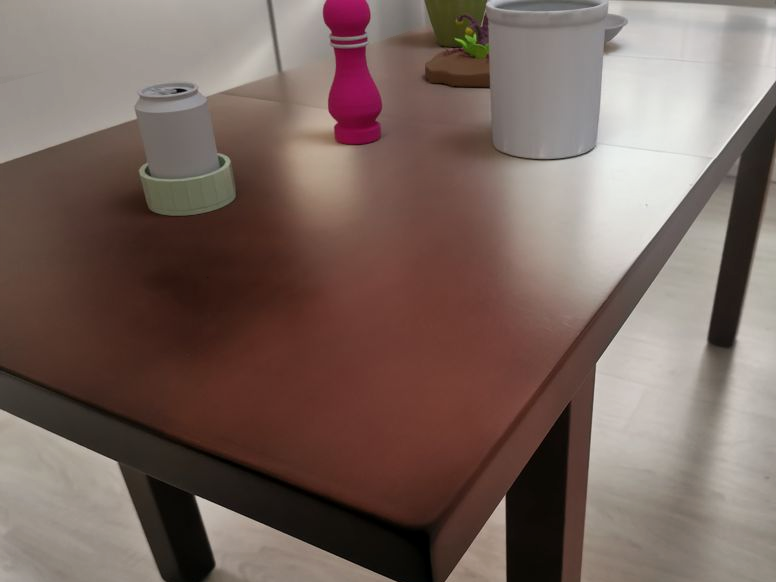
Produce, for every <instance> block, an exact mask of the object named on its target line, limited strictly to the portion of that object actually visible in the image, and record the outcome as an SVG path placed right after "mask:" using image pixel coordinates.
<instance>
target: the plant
mask: <svg viewBox="0 0 776 582" xmlns="http://www.w3.org/2000/svg"><path fill="white" fill-rule="evenodd" d="M463 17H465V18H467V19H469V20H471V22H472V24H471V25H470V26H468V27H467V28H466V31H465V32H466V34H467V35H465V38H466V39H467V42H468V44H469V45H468V44H467V43H466V42H465V41H463V40H461V39H457V38H455V40H456V41H457V42H459V43H460V44H461V45H462V47H457V48H456V47H452V49H451V50H450V49H445V51H441V52H439V53H437V54H436V55H434V56H433V57H432V58H431V59H430V60H428V61H426V62H425V63H424V74H425V79H426V80H428V81H429V83H430V84H441V83H445V84H444V85H447V84H448V86H450V85H451V87H454V86H457V87H456V88H490V62H489V20H488V18H487V15H486V11H485V13H484V17H483V20H482V24H481V26H480V25H479V23H478V22H477V20H475V19H474V18H473V17H471V16H470V15H468V14H463V15H461V16H459V17H457V19H456V25H458V26H461V25H462V24H463ZM474 27H475V32H476V33H475V34H474V36H473V38H472V37H470V35H472V34H473V31H474Z"/></svg>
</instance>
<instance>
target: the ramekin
mask: <svg viewBox="0 0 776 582" xmlns="http://www.w3.org/2000/svg"><path fill="white" fill-rule="evenodd" d="M217 154H218V160H219V165H220V169H218V170H216V171H214V172H211V173H209V174H205V175H201V176H197V177H191V178H185V179H159V178H154V177H151V175H150V171H149V167H148V162H147V161H146V163H144V164H142V165H141V166H140V168H139V169H138V175H139V178H140V182H141V187H142V190H143V191H142V192H143V194H144V198H145V203H146V206H147V208H148V210H150V211H151V212H153V213H155V214H157V215H158V214H159V215H162V216H168V217H169V216H170V217H171V216H172V217H184V216H185V217H186V216H196V215H200V214H205V213H209V212H213V211H216V210H219V209H222V208H224V207H226V206H228V205H230V204H231V203H232V202H233V201H235V199H236V198H237V187H236V181H235V176H234V170H233V165H232V161H231V159H230V157H229V156H227V155H225V154H223V153H219V152H217Z"/></svg>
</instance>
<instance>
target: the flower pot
mask: <svg viewBox="0 0 776 582" xmlns="http://www.w3.org/2000/svg"><path fill="white" fill-rule="evenodd" d="M423 1H424V4H425V8H426V11H427V14H428V19H429V22H430V24H431V27H432V30H433V34H434V36H435V38H436V40H437V43H438V45H440V46H442V47H446V48H447V47H448V48H463V47H462V45H461V44H460V43H459V42H457V41H456V40H455V38H457V39H461V40H463V41H465V42H466V43H467V44H468V42H467V39H466V38H465V35H467V34H466V32H465V31H466V28H467V27H468V26H470V25H471V24H472V22H471V20H469V19H467V18H465V17H463V24H462V25H461V26H458V25H456V19H457V17H459V16H461V15H463V14H468V15H470V16H471V17H473V18H474V19H475V20H477V22H478V23H479V25H480V26H481V27H482V23H483V19H484V15H485V12H486V3H487V2H488V0H423ZM475 33H476V32H475V27H474V31H473V34H472V35H470V37H472V38H473V36H474V34H475ZM468 45H469V44H468Z"/></svg>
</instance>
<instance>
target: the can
mask: <svg viewBox="0 0 776 582" xmlns="http://www.w3.org/2000/svg"><path fill="white" fill-rule="evenodd" d="M199 87H200V86H199V85H198V84H197V83H195V82H192V81H184V80H183V81H182V80H181V81H180V80H177V81H176V80H175V81H162V82H157V83H152V84H148V85H144V86H143V87H141V88H139V89H138V90H137V92H136V93H137V95H138V96H139V97H138V99H137V101H136V102H135V104H134V106H133V109H134V112H135V117H136V121H137V125H138V128H139V132H140V137H141V142H142V145H143V149H144V154H145V158H146V163H147V162H148V167H149V171H150V175H151V177H154V178H159V179H185V178H191V177H197V176H201V175H205V174H209V173H211V172H214V171H216V170H218V169H220V165H219V160H218V154H217V153H218V150H217V145H216V139H215V134H214V128H213V122H212V117H211V112H210V107H209V102H208V98H207V97H206V96H205V95H203V93H201V92H200V91H199Z"/></svg>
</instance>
